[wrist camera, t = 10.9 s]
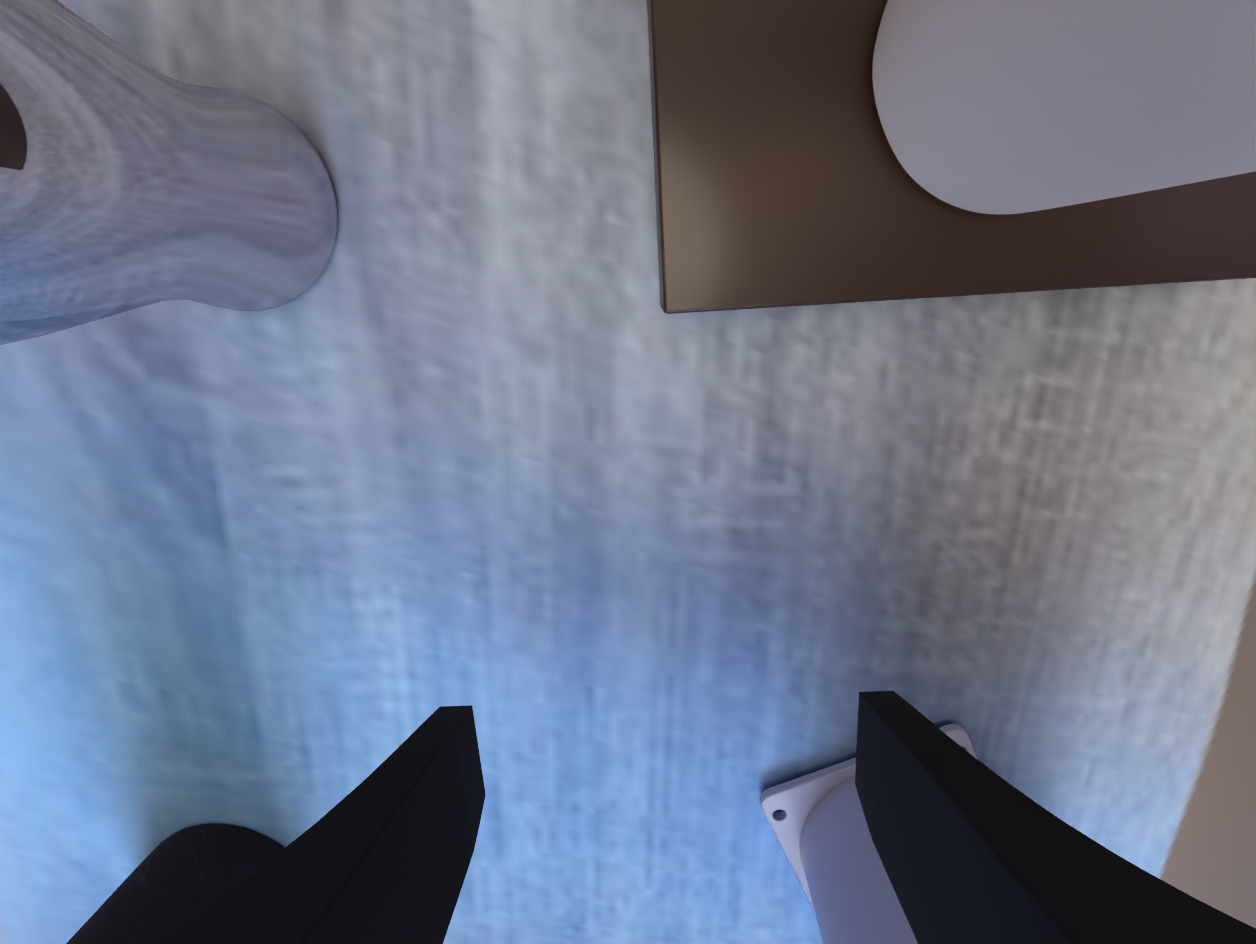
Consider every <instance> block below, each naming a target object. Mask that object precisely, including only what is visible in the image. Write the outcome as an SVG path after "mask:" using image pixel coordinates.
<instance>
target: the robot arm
mask: <svg viewBox="0 0 1256 944" xmlns="http://www.w3.org/2000/svg"><path fill="white" fill-rule="evenodd" d="M961 746H962V747H961ZM484 799H485V788H484V782H483V775H482V769H481V762H480V756H479V749H478V742H477V736H476V729H475V723H474V716H473V709H472V706H447V707H439V708H438V709H437V710H436V711H435V712H434V713H433V714H432V715H431V716H430V717H429V718H428V719H427V720H426V721H425V722H424V723H423V724H422V725H421V726H420V727H419V728H418V729H417V730H416V731H415V732H414V733H413V734H412V735H411V736H410V737H409V738H408V739H407V740H406V741H405V742H404V743H403V744H402V745H401V746H400V747H399V748H398V749H397V750H396V751H395V752H393V753H392V754H391V755H390V756H389V757H388V758H387V759H386V760H385V761H384V762H383V763H382V764H381V765H380V766H379V767H378V768H377V769H376V770H375V771H374V772H373V773H372V774H371V775H370V776H368V777H367V778H366V779H365V780H364V781H363V782H362V783H361V784H360V785H359V786H358V787H356V788H355V789H354V790H353V791H352V792H351V793H350V794H349V795H347V796H346V797H345V798H344V799H343V800H342V801H341V802H339V803H338V804H337V805H336V806H335V807H334V808H333V809H332V810H330V811H329V812H328V813H327V814H326V815H325V816H324V817H322V818H321V819H320V820H319V821H318V822H317V823H316V824H314V825H313V826H312V827H311V828H309V829H308V830H307V831H306V832H305V833H303V834H302V835H301V836H300V837H298V838H297V839H296V840H295V841H293V842H292V843H291V844H290V845H288V846H287V847H286V848H284V849H283V850H282V851H280V852H279V853H278V854H276V855H275V856H274V857H272V858H271V859H270V860H268V861H267V862H266V863H264V864H263V865H262V866H260V867H259V868H258V869H256V870H255V871H254V872H252V873H251V874H249V875H248V876H247V877H245V878H244V879H242V880H241V881H239V882H238V883H236V884H235V885H233V886H232V887H230V888H229V889H227V890H226V891H224V892H223V893H221V894H220V895H218V896H217V897H215V898H214V899H212V900H211V901H209V902H208V903H206V904H205V905H203V906H202V907H200V908H199V909H197V910H196V911H194V912H193V913H191V914H190V915H188V916H187V917H185V918H184V919H182V920H180V921H179V922H177V923H176V924H174V925H172V926H171V927H169V928H167V929H166V930H164V931H162V932H161V933H159V934H158V935H156V936H154V937H153V938H151V939H149V940H148V941H146V942H144V943H143V944H443V941H444V938H445V935H446V932H447V929H448V926H449V923H450V920H451V918H452V915H453V912H454V909H455V906H456V903H457V900H458V897H459V894H460V891H461V888H462V885H463V882H464V879H465V876H466V873H467V870H468V867H469V864H470V860H471V857H472V854H473V851H474V847H475V842H476V838H477V833H478V829H479V824H480V819H481V814H482V809H483V804H484ZM760 802H761V807H762V810H763V812H764V814H765V816H766V818H767V820H768V821H769V823H770V825H771V827H772V829H773V831H774V833H775V835H776V837H777V839H778V841H779V843H780V845H781V847H782V849H783V851H784V853H785V855H786V857H787V859H788V861H789V863H790V865H791V867H792V868H793V870H794V872H795V874H796V876H797V878H798V880H799V882H800V884H801V886H802V888H803V890H804V892H805V894H806V896H807V898H808V900H809V902H810V904H811V906H812V908H813V910H814V912H815V914H816V918H817V922H818V925H819V929H820V933H821V937H822V940H823V944H1256V929H1255V928H1253V927H1251V926H1249V925H1247V924H1245V923H1243V922H1241V921H1239V920H1236V919H1234V918H1233V917H1230V916H1229V915H1227V914H1225V913H1222V912H1221V911H1219V910H1217V909H1214V908H1213V907H1211V906H1209V905H1207V904H1205V903H1203V902H1201V901H1199V900H1197V899H1195V898H1193V897H1191V896H1190V895H1188V894H1186V893H1184V892H1182V891H1180V890H1178V889H1177V888H1175V887H1173V886H1171V885H1169V884H1168V883H1166V882H1164V881H1162V880H1160V879H1158V878H1157V877H1155V876H1153V875H1151V874H1149V873H1147V872H1146V871H1144V870H1142V869H1140V868H1139V867H1137V866H1135V865H1133V864H1132V863H1130V862H1128V861H1126V860H1125V859H1123V858H1121V857H1120V856H1118V855H1116V854H1114V853H1113V852H1111V851H1110V850H1108V849H1106V848H1105V847H1103V846H1102V845H1100V844H1098V843H1097V842H1095V841H1094V840H1092V839H1090V838H1089V837H1087V836H1086V835H1084V834H1082V833H1081V832H1079V831H1078V830H1076V829H1074V828H1073V827H1071V826H1070V825H1068V824H1066V823H1065V822H1063V821H1062V820H1060V819H1059V818H1057V817H1056V816H1054V815H1053V814H1051V813H1050V812H1048V811H1047V810H1046V809H1044V808H1043V807H1041V806H1040V805H1038V804H1037V803H1036V802H1034V801H1033V800H1031V799H1030V798H1029V797H1027V796H1026V795H1024V794H1023V793H1022V792H1020V791H1019V790H1017V789H1016V788H1015V787H1013V786H1012V785H1010V784H1009V783H1008V782H1006V781H1005V780H1004V779H1002V778H1001V777H1000V776H998V775H997V774H996V773H994V772H993V771H992V770H990V769H989V768H988V767H986V766H985V765H984V764H983V763H981V762H980V761H979V760H978V759H977V756H976V754H975V751H974V749H973V746H972V743H971V741H970V738H969V736H968V734H967V733H966V732H965V730H964V729H963V727H961V726H960V725H958V724H948V725H945V726H942V727H939V728H938V727H937V726H935V725H934V724H933V723H932V722H931V721H929V720H928V719H927V718H926V717H925V716H923V715H922V714H921V713H920V712H919V711H917V710H916V709H915V708H914V707H913V706H911V705H910V704H909V703H908V702H907V701H905V700H904V699H903V698H902V697H900V696H899V695H898V694H897V693H895V692H894V691H874V692H859V708H858V729H857V749H856V757H855V758H852V759H849V760H847V761H844V762H841V763H838V764H835V765H832V766H830V767H827V768H824V769H821V770H818V771H816V772H813V773H810V774H807V775H804V776H802V777H799V778H796V779H793V780H790V781H787V782H785V783H782V784H779V785H776V786H773V787H771V788H768V789H766V790H764V791H763V792H762V793H761V795H760ZM780 809H781V810H783V811H781V812H777V813H776V812H774V811H776V810H780Z"/></svg>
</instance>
